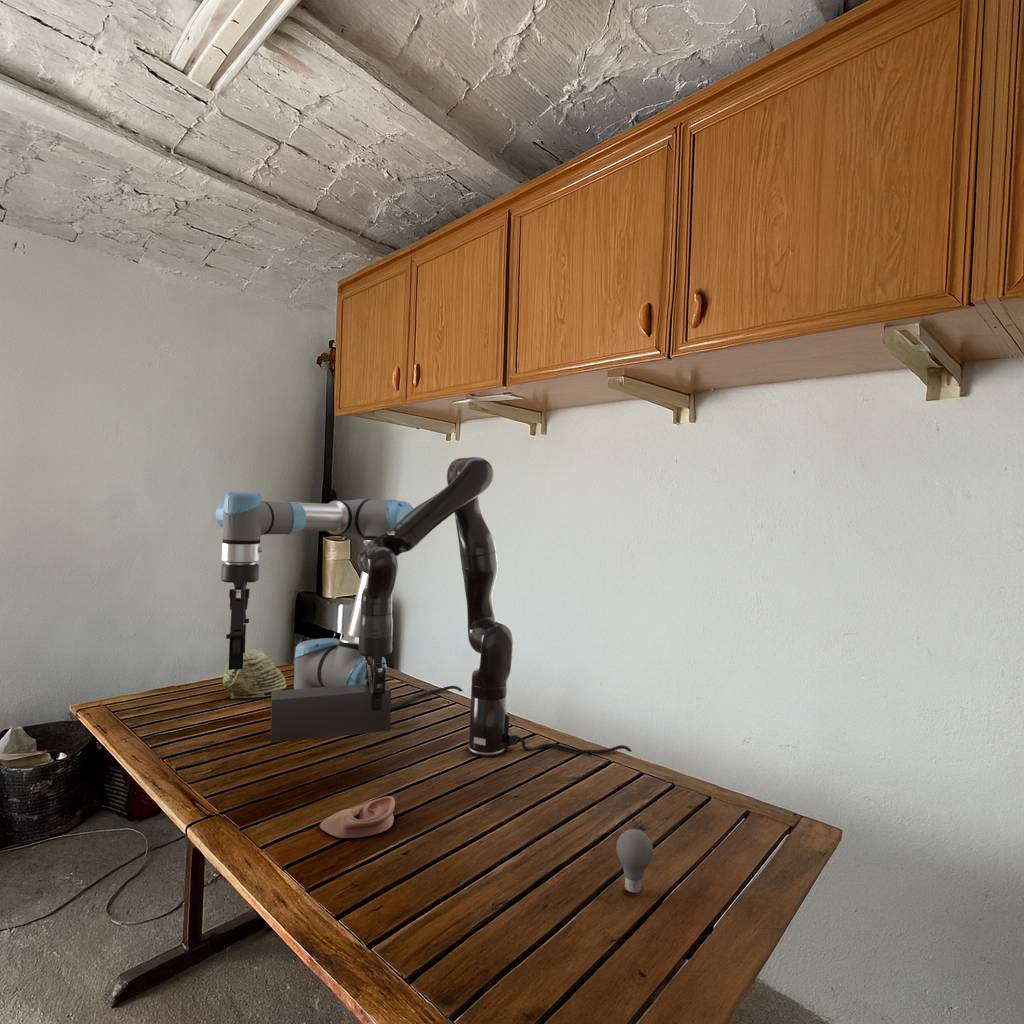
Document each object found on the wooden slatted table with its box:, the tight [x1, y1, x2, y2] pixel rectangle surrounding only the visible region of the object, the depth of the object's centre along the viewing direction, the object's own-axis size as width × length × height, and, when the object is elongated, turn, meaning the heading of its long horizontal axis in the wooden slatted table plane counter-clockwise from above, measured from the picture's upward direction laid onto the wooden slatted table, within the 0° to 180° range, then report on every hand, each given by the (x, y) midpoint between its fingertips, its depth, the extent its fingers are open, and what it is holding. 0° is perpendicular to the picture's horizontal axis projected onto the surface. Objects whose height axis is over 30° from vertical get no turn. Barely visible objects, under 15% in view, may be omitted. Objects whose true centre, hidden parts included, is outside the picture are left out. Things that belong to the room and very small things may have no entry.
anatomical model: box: [319, 795, 396, 839], centre depth 123 cm, size 13×4×12 cm
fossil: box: [222, 646, 288, 699], centre depth 198 cm, size 9×18×15 cm, turn 132°
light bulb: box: [615, 828, 654, 894], centre depth 106 cm, size 6×6×10 cm
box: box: [270, 681, 392, 744], centre depth 141 cm, size 25×6×9 cm, turn 112°
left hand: (237, 660), depth 137 cm, fingers open, 13 cm apart
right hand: (373, 705), depth 145 cm, fingers closed on box, 6 cm apart
